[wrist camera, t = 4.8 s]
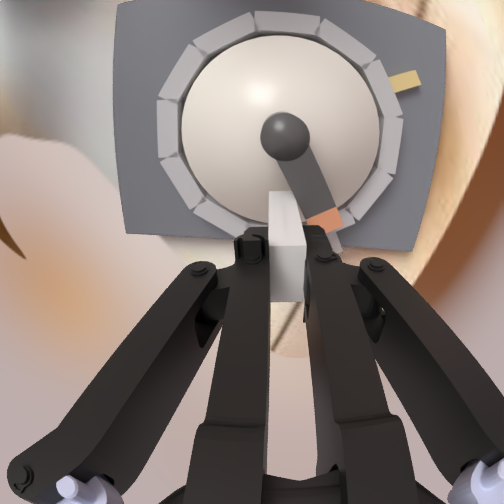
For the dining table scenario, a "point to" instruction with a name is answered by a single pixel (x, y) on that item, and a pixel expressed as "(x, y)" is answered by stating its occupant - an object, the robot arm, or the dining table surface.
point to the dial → (281, 128)
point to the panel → (260, 25)
